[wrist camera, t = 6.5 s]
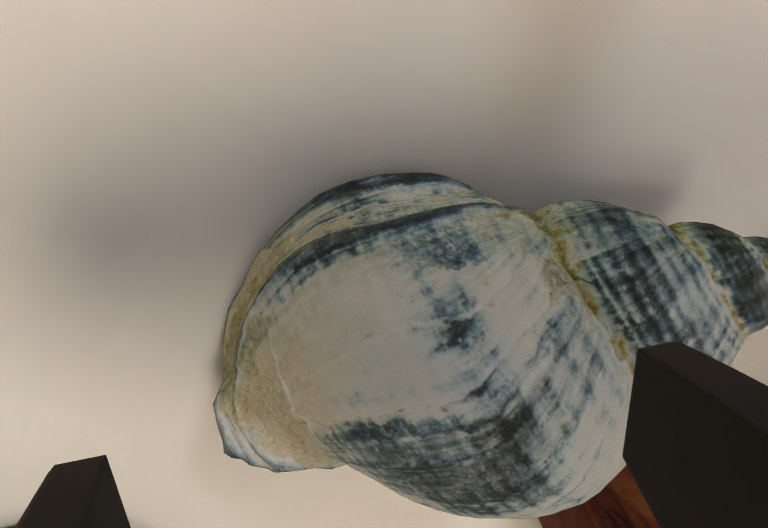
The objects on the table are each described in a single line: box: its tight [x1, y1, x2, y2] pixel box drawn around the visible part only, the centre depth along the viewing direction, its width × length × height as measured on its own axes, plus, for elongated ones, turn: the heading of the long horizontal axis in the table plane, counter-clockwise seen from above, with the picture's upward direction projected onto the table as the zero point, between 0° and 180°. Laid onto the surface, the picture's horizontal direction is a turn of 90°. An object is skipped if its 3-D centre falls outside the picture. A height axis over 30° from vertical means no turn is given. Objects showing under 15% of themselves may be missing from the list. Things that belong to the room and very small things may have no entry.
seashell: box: [213, 173, 768, 519], centre depth 16 cm, size 6×8×12 cm
